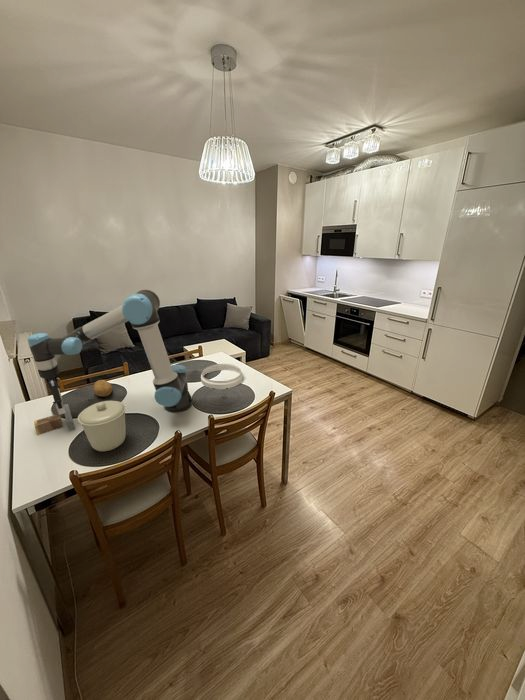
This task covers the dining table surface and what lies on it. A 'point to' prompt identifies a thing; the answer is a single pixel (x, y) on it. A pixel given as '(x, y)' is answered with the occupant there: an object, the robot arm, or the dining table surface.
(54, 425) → the block
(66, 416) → the grey bar
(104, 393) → the potato
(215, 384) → the white flat ring
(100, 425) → the canister
